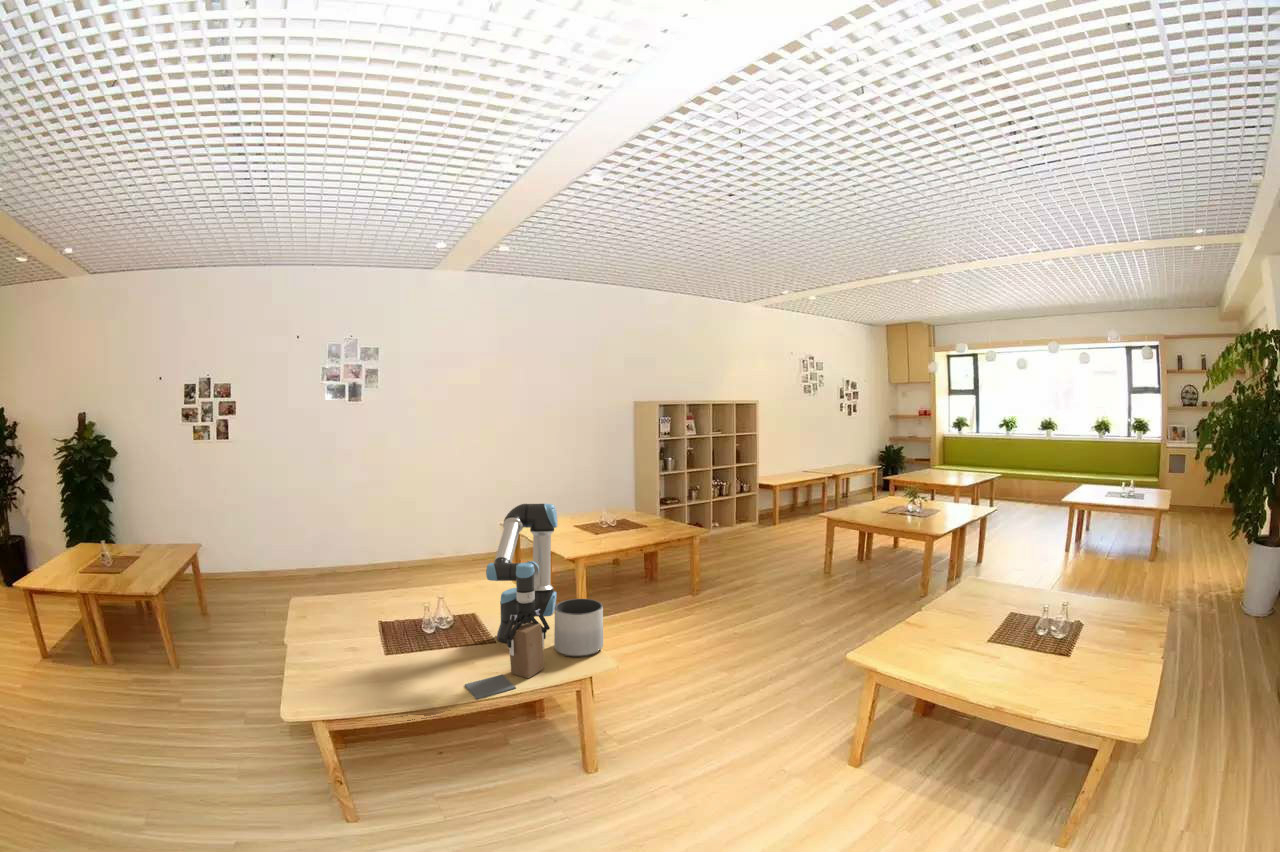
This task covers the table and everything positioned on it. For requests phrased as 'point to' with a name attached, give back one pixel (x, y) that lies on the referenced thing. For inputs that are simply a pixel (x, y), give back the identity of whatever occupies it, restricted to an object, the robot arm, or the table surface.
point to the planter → (578, 627)
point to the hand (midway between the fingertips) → (527, 651)
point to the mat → (489, 686)
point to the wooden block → (527, 650)
